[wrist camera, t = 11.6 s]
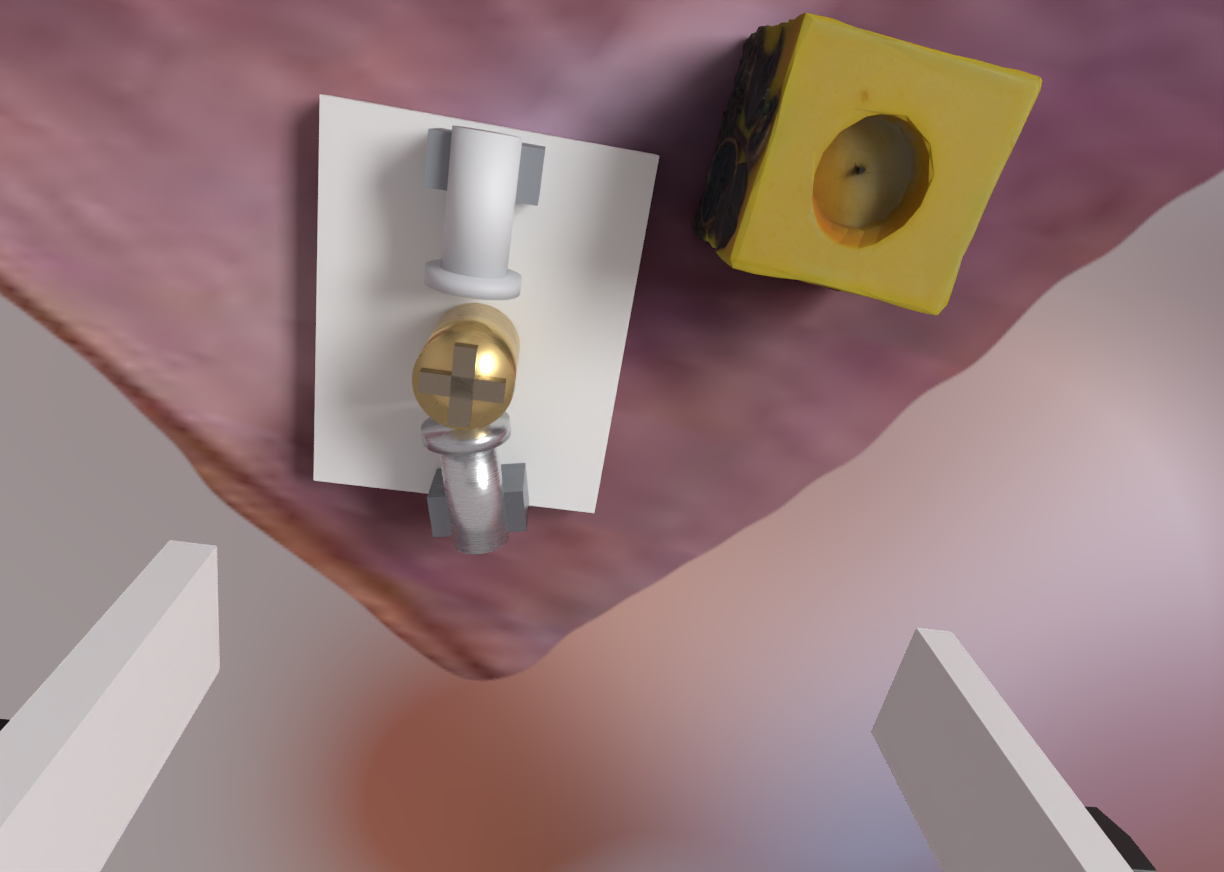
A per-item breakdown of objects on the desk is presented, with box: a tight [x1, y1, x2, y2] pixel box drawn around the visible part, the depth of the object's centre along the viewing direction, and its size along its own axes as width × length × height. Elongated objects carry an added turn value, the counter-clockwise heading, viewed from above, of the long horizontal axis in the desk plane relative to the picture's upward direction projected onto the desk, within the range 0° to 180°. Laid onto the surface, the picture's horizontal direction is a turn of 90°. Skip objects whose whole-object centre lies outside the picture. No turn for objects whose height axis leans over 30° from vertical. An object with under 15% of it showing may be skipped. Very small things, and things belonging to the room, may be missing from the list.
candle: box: [693, 13, 1042, 315], centre depth 34 cm, size 10×10×10 cm
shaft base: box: [314, 94, 659, 513], centre depth 37 cm, size 20×16×8 cm
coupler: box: [412, 303, 520, 430], centre depth 36 cm, size 5×5×7 cm
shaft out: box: [421, 412, 529, 554], centre depth 39 cm, size 7×5×6 cm
